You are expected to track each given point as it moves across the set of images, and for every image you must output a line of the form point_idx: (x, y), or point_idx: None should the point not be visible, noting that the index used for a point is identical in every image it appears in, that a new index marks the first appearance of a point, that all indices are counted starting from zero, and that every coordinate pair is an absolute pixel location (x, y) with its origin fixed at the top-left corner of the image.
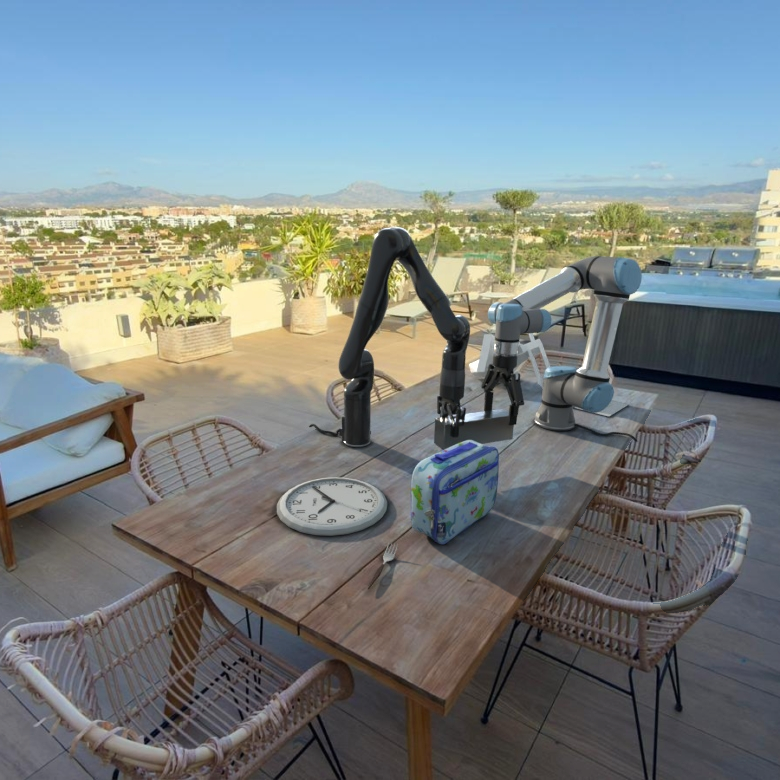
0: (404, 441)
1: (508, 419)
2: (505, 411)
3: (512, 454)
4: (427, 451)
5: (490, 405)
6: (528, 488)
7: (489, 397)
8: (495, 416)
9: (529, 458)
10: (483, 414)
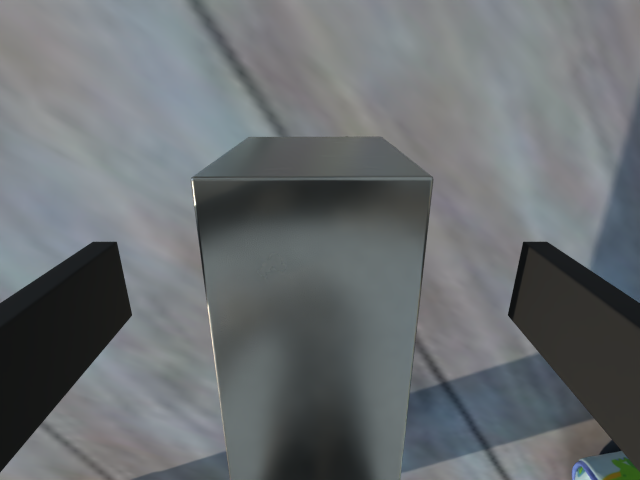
0: (59, 429)
1: (540, 348)
2: (293, 217)
3: (315, 70)
4: (171, 397)
5: (85, 293)
6: (623, 226)
7: (12, 390)
8: (385, 387)
9: (397, 6)
10: (298, 447)
